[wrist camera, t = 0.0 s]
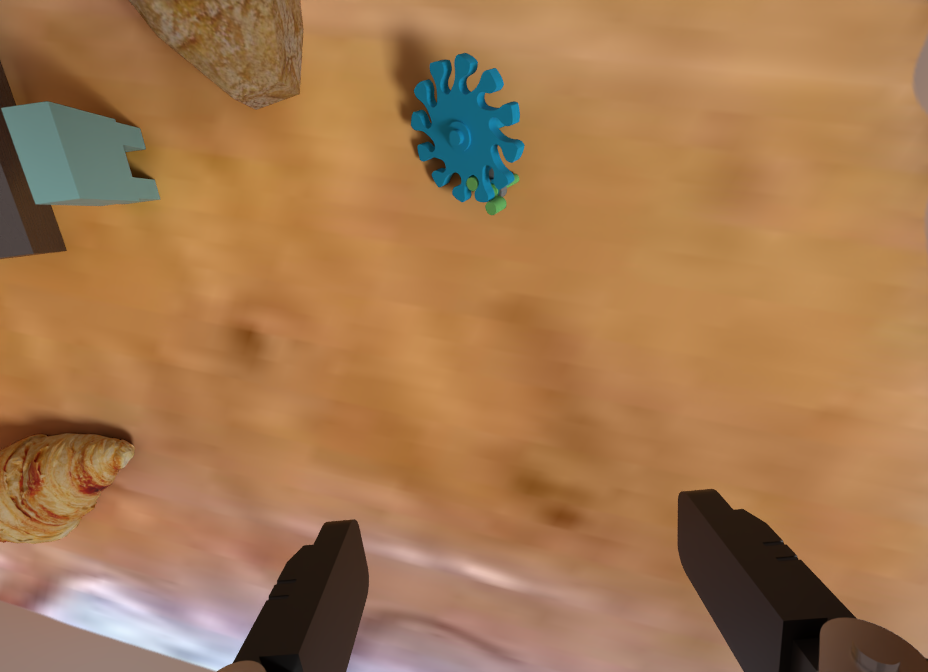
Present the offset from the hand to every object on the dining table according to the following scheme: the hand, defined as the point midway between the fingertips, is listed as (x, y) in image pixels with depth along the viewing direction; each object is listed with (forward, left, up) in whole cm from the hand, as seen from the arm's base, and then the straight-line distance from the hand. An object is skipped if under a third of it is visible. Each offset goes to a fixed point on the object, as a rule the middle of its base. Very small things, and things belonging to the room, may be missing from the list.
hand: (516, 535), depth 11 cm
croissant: (+13, -45, -30) cm, 56 cm away
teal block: (-15, -28, -29) cm, 43 cm away
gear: (-13, 0, -30) cm, 32 cm away
